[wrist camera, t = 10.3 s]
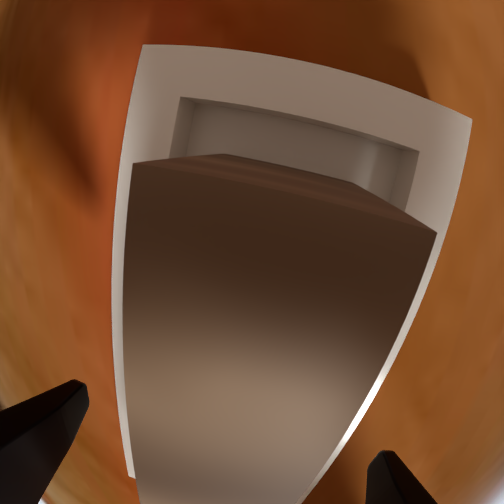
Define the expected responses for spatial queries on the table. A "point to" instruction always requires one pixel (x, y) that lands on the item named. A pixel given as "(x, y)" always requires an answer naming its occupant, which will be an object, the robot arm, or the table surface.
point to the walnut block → (254, 322)
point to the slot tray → (289, 148)
